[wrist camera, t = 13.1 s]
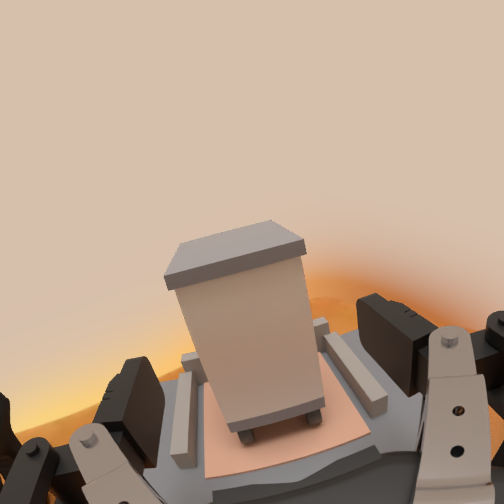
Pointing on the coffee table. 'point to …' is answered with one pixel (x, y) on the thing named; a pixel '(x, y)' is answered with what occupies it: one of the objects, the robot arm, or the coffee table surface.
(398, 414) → the dock
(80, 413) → the coffee table surface
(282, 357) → the box with lid
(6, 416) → the controller
